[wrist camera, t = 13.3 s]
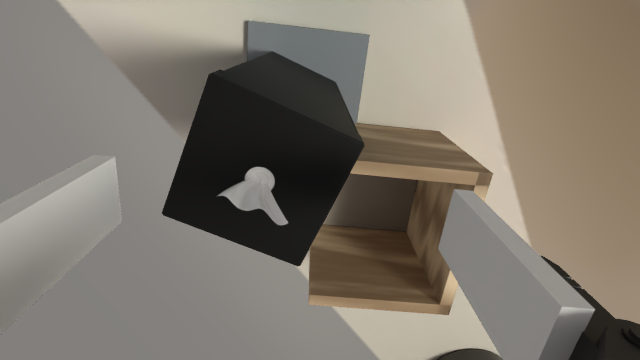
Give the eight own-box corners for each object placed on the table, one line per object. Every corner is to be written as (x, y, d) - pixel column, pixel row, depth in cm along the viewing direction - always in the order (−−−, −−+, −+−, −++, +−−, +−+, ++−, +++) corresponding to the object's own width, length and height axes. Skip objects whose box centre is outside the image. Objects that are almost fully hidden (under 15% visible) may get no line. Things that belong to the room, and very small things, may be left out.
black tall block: (307, 142, 43) (296, 310, 17) (246, 114, 41) (130, 251, 15) (336, 81, 40) (377, 168, 14) (271, 49, 39) (183, 80, 13)
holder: (413, 240, 49) (448, 315, 36) (310, 231, 48) (308, 304, 35) (439, 131, 43) (492, 173, 30) (322, 119, 42) (326, 157, 29)
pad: (352, 148, 44) (352, 149, 43) (245, 138, 43) (245, 139, 42) (368, 34, 39) (369, 34, 38) (249, 21, 38) (248, 20, 37)
